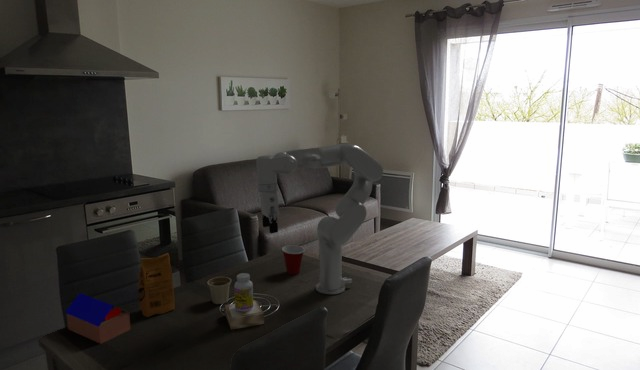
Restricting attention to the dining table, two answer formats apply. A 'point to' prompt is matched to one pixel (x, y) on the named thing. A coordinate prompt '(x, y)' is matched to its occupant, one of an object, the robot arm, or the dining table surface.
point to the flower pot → (219, 289)
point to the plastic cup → (293, 258)
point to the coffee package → (156, 286)
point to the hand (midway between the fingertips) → (270, 229)
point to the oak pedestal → (244, 316)
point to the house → (96, 319)
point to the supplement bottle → (243, 293)
